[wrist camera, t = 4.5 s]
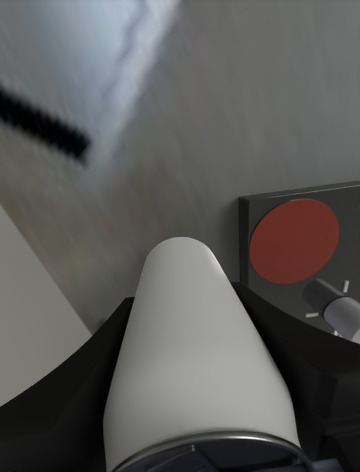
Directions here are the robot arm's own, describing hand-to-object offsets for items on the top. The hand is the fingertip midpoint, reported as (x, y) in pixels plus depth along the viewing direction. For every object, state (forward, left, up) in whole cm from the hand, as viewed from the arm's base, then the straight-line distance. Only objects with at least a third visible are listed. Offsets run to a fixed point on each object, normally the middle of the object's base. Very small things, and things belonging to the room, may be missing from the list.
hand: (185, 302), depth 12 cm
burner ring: (0, -11, -6) cm, 13 cm away
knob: (-9, -18, -6) cm, 21 cm away
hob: (-4, -14, -9) cm, 17 cm away
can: (0, 0, -5) cm, 5 cm away
